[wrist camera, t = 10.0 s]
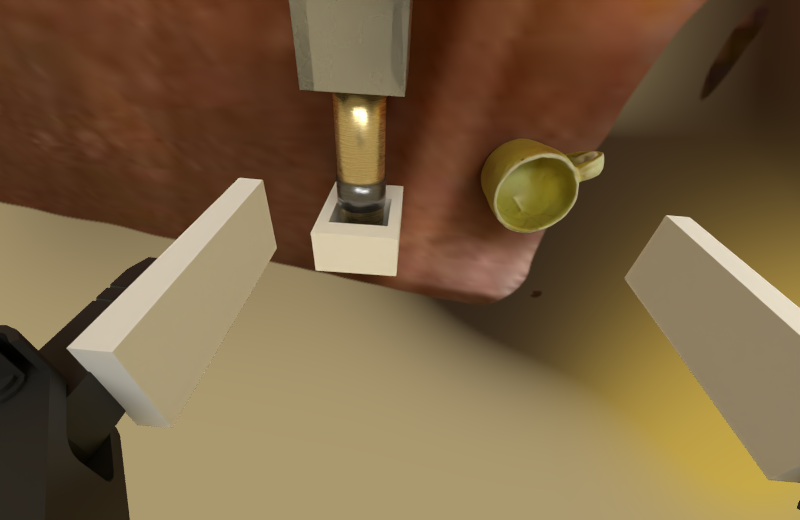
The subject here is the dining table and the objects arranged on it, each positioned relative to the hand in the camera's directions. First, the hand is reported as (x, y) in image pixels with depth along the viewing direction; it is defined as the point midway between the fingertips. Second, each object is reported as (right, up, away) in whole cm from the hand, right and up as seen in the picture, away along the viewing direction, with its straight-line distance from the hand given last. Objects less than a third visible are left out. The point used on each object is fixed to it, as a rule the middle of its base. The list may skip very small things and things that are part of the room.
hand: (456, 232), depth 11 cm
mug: (+14, +11, +30) cm, 35 cm away
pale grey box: (-5, +24, +21) cm, 32 cm away
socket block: (-6, +7, +34) cm, 35 cm away
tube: (-6, +12, +25) cm, 28 cm away
